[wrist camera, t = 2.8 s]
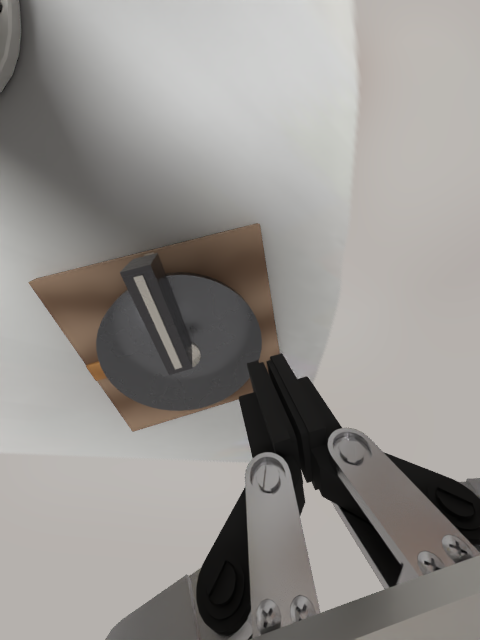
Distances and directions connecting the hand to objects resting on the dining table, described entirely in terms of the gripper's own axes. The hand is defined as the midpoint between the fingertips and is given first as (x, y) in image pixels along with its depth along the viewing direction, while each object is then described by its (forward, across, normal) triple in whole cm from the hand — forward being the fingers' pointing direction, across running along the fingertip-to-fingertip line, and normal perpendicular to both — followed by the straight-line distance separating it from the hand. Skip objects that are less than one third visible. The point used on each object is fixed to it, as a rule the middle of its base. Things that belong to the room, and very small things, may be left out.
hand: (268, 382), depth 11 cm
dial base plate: (+14, +6, +5) cm, 16 cm away
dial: (+13, +6, +4) cm, 15 cm away
